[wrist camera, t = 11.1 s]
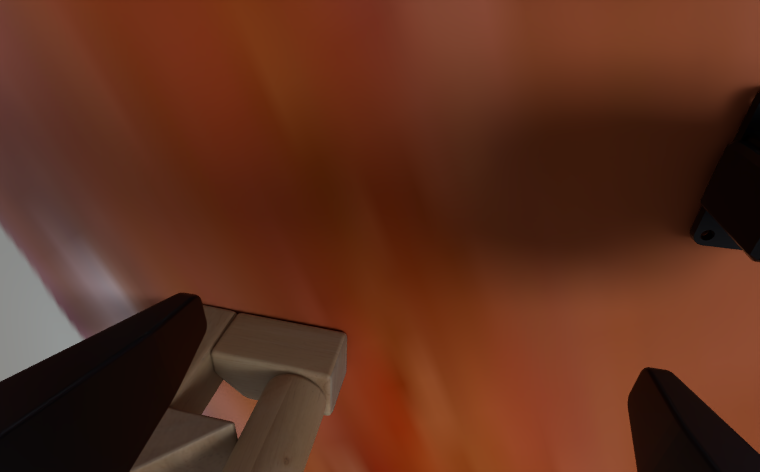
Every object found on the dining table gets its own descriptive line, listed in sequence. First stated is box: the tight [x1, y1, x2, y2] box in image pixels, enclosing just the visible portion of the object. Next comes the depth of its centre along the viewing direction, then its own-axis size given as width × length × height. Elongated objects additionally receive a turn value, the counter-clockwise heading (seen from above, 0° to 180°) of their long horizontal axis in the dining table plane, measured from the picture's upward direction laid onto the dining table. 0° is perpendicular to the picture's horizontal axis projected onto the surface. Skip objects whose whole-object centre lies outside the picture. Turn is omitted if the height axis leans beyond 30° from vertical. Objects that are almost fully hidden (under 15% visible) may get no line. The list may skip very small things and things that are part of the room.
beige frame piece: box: [130, 305, 347, 472], centre depth 20 cm, size 4×11×18 cm, turn 87°
